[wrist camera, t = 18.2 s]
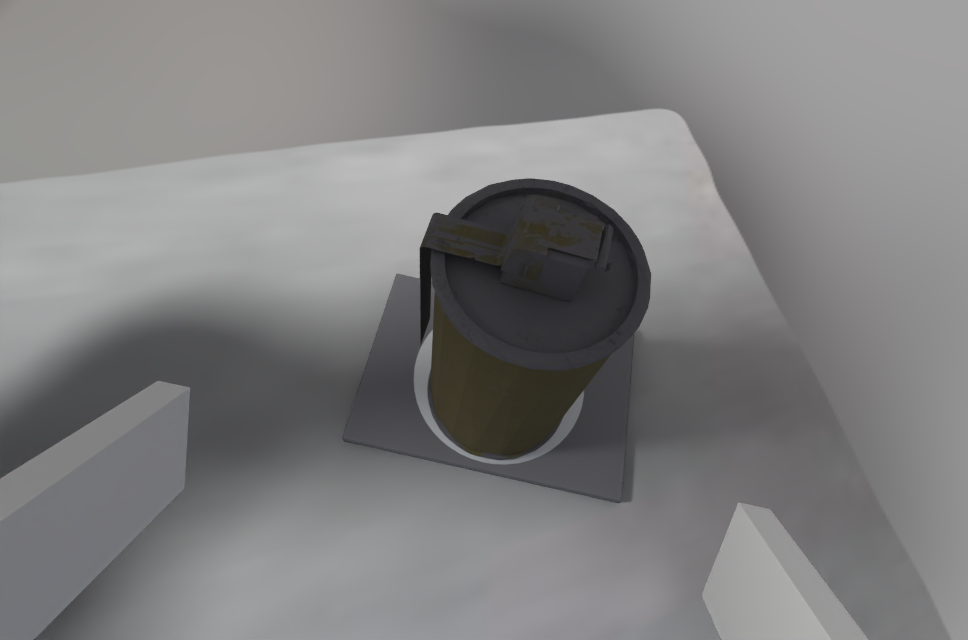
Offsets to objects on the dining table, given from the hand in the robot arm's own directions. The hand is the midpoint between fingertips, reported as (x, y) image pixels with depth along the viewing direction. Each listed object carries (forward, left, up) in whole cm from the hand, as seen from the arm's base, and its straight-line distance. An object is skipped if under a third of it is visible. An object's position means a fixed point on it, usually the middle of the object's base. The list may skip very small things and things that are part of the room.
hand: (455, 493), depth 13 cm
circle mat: (+2, +13, -26) cm, 29 cm away
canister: (+2, +12, -25) cm, 28 cm away
